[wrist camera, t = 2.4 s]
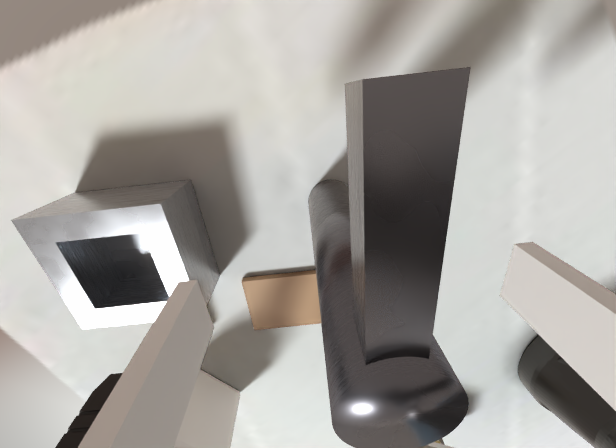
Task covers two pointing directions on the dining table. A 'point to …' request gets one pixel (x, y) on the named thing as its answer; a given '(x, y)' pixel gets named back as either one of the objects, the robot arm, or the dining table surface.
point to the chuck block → (121, 250)
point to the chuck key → (390, 261)
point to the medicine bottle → (209, 415)
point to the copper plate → (282, 299)
